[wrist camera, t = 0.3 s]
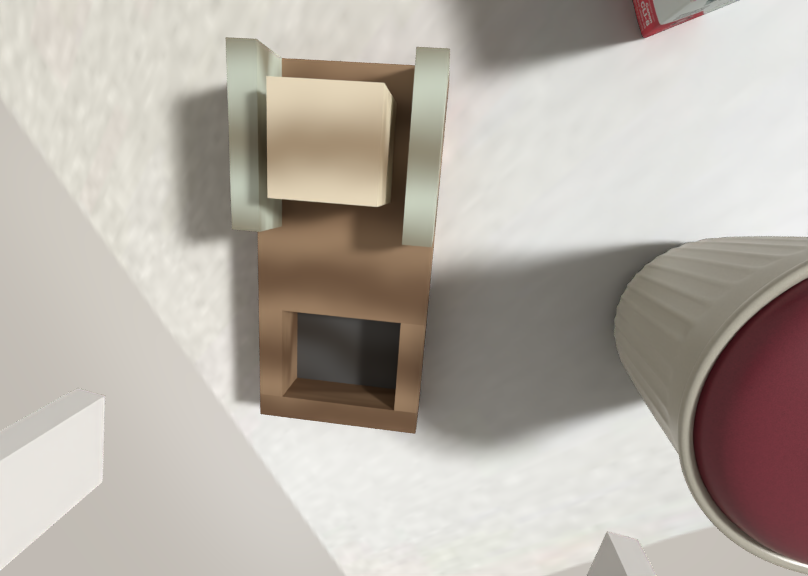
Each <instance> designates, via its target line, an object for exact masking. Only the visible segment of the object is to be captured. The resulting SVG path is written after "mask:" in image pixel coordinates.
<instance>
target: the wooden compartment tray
mask: <svg viewBox="0 0 808 576" xmlns="http://www.w3.org/2000/svg"><path fill="white" fill-rule="evenodd" d="M449 62H450V49H448V48H428V47H416V60H415V65H398V64H379V63H361V62H342V61H324V60H305V59H286V58H281V57H279V56H278V55H277V54H275V53H274V52H273V51H272V50H270V49H269V48H268V47H266V46H265V45H264V44H262V43H261V42H260V41H258V40H257V39H248V38H228V37H226V64H227V95H228V126H229V157H230V188H231V219H232V230H243V231H254V232H258V285H259V347H260V409H261V414H265V415H273V416H280V417H288V418H296V419H304V420H312V421H320V422H328V423H336V424H343V425H351V426H359V427H367V428H375V429H383V430H391V431H398V432H406V433H414V434H415V432H416V424H417V417H418V409H419V398H420V387H421V377H422V366H423V355H424V345H425V334H426V323H427V312H428V302H429V291H430V280H431V270H432V259H433V248H434V238H435V227H436V216H437V206H438V195H439V184H440V174H441V163H442V152H443V142H444V131H445V120H446V110H447V99H448V88H449ZM266 76H274V77H291V78H309V79H326V80H343V81H361V82H378V83H385V85H386V86H387V88H388V90H389V91H390V93H391V95H392V96H393V98H394V99H395V101H396V103H397V108H396V123H395V139H394V154H393V170H392V185H391V200H390V203H388V204H385V205H382V206H379V207H372V206H360V205H348V204H336V203H324V202H312V201H300V200H287V199H275V198H268V191H267V89H266Z"/></svg>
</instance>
